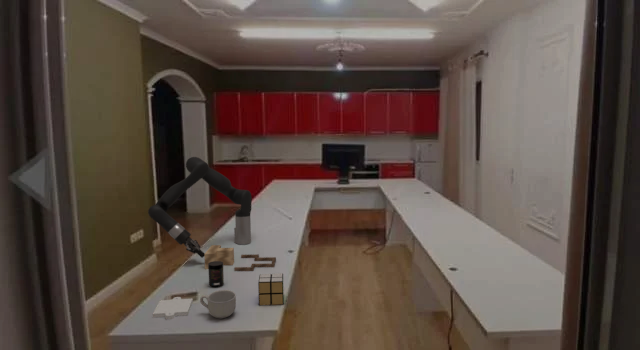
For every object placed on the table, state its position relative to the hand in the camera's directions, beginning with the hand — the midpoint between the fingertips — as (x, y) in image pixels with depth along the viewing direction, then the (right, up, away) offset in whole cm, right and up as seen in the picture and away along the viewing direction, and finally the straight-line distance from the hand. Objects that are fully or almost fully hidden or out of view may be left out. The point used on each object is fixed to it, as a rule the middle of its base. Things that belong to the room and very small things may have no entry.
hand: (203, 256), depth 229 cm
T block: (+9, -4, +1) cm, 10 cm away
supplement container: (+14, -8, -30) cm, 34 cm away
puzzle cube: (+41, -10, -47) cm, 63 cm away
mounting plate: (+3, -11, -56) cm, 57 cm away
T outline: (+28, -4, +1) cm, 28 cm away
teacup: (+22, -12, -60) cm, 65 cm away
